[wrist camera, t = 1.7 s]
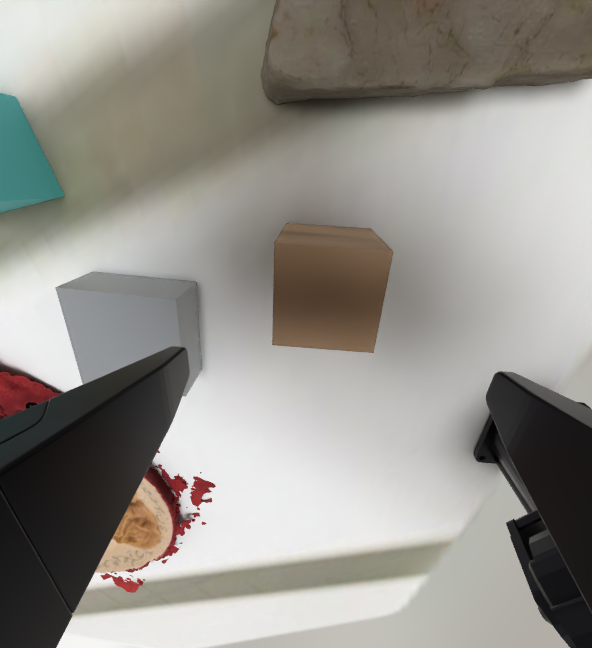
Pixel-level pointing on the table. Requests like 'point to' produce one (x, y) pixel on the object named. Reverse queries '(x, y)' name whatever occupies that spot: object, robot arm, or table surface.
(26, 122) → the teal cube
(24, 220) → the table surface
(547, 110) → the table surface
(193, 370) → the grey slab
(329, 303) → the walnut cube
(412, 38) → the marble piece
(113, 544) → the plate with food
